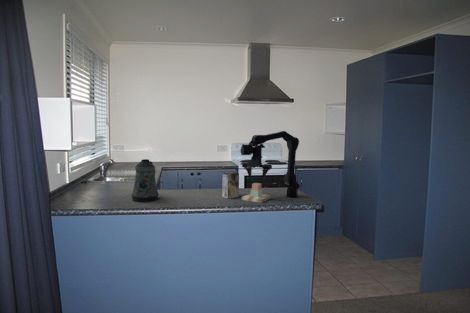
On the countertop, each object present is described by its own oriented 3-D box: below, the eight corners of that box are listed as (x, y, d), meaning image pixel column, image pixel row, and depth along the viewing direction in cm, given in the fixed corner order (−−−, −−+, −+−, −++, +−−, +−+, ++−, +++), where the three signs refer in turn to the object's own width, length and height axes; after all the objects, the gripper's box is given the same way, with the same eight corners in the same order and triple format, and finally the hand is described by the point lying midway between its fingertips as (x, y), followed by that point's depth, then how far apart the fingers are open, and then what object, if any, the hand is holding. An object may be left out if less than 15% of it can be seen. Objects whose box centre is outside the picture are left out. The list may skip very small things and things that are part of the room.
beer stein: (131, 202, 204) (130, 161, 201) (132, 195, 222) (131, 158, 220) (159, 201, 208) (158, 161, 205) (157, 194, 227) (157, 157, 224)
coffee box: (233, 195, 228) (233, 171, 226) (238, 197, 223) (239, 172, 221) (222, 196, 222) (222, 172, 221) (227, 198, 217) (227, 174, 215)
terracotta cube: (261, 189, 217) (261, 183, 217) (258, 190, 214) (258, 184, 213) (255, 188, 220) (255, 182, 219) (251, 190, 216) (252, 183, 215)
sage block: (262, 195, 218) (262, 189, 218) (258, 197, 213) (258, 191, 213) (254, 194, 221) (254, 188, 220) (250, 196, 216) (250, 190, 216)
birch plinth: (270, 198, 220) (270, 195, 219) (261, 202, 208) (261, 199, 208) (251, 195, 227) (251, 192, 227) (241, 199, 215) (241, 196, 215)
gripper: (237, 155, 212) (237, 179, 214) (264, 156, 203) (264, 182, 204) (246, 153, 222) (246, 177, 223) (272, 155, 212) (271, 179, 214)
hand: (256, 179), depth 216 cm, fingers open, 9 cm apart
